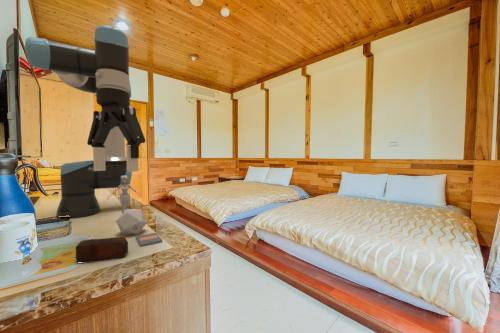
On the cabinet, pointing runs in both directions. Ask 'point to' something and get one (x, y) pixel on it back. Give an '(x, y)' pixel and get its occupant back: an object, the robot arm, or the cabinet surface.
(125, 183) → the human figurine
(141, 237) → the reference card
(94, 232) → the cabinet surface
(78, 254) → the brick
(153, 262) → the cabinet surface
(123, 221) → the die
